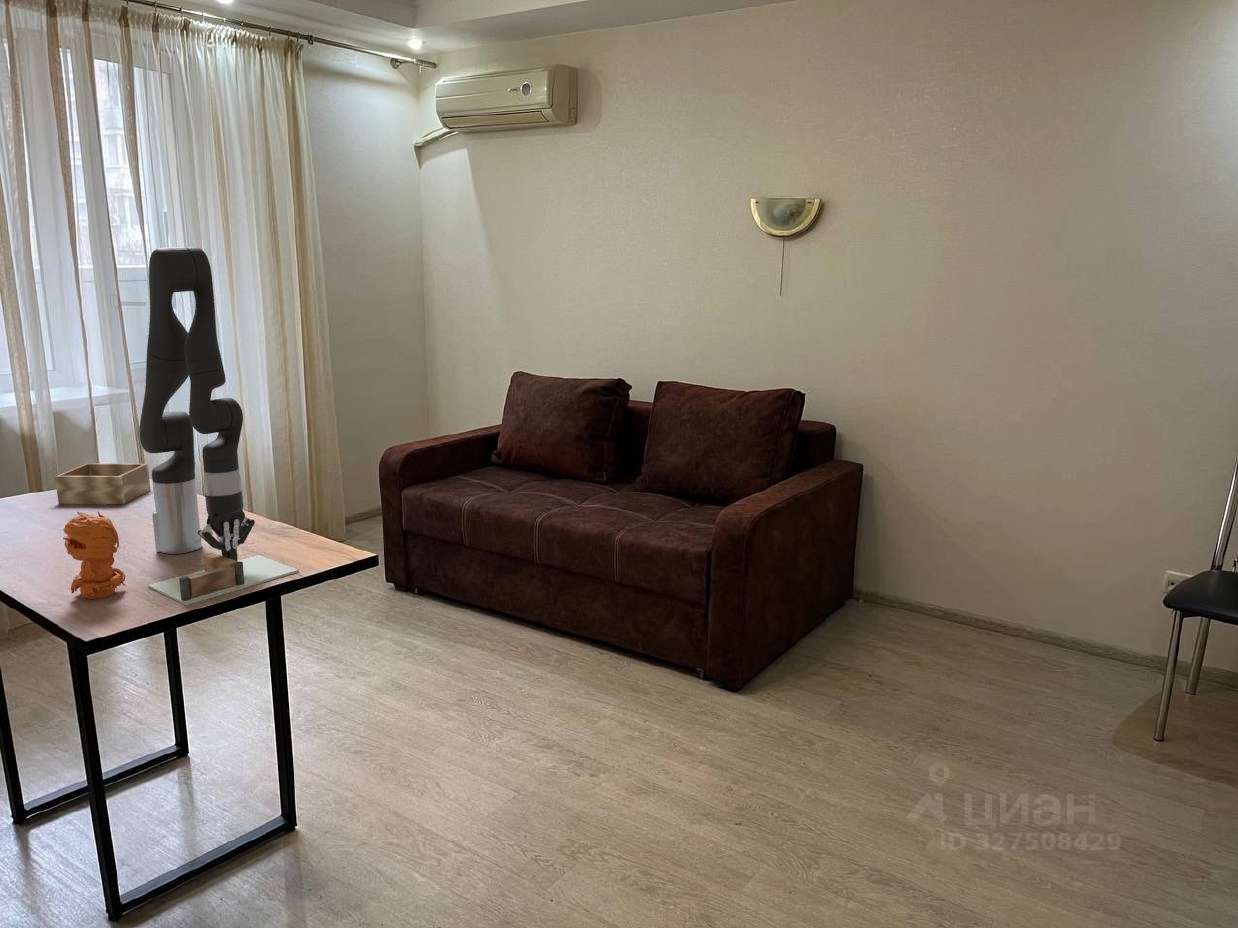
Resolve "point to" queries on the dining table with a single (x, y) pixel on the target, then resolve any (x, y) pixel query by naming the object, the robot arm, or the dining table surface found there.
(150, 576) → the dining table surface
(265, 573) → the card
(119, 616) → the dining table surface
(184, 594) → the fence fixed
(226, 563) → the rail
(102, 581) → the toy dinosaur
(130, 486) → the toy crate
